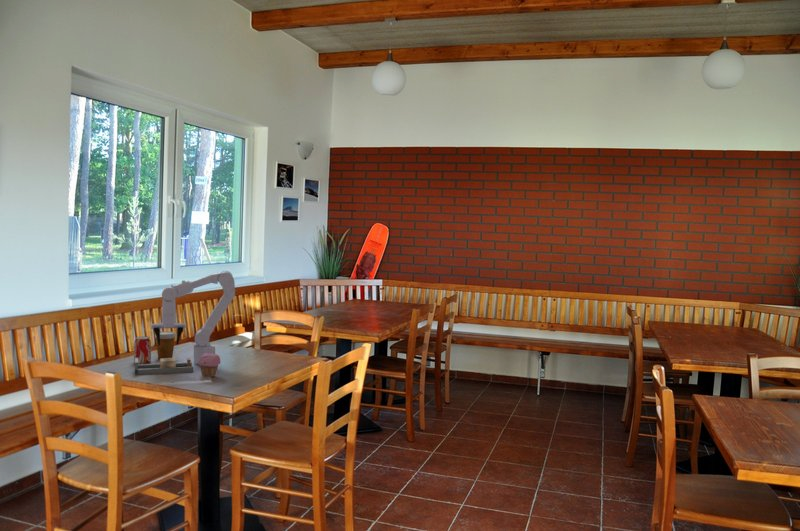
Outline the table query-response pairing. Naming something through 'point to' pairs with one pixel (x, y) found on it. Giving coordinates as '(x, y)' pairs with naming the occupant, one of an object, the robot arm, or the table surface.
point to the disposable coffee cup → (165, 344)
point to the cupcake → (209, 364)
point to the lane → (157, 370)
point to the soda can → (142, 350)
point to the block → (172, 363)
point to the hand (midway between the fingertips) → (168, 344)
